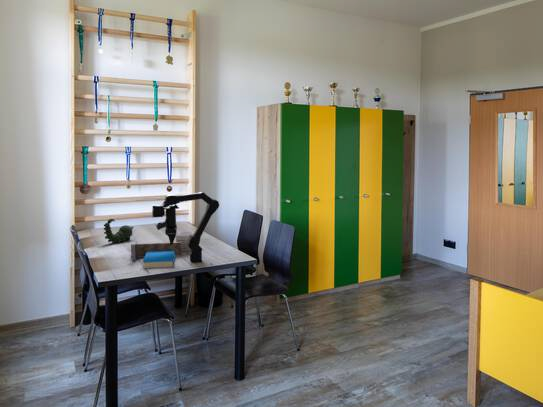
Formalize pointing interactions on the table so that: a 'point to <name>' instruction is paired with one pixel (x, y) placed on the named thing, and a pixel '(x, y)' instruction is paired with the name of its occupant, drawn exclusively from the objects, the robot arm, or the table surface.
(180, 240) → the can
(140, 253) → the shelf wall
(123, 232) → the toy figurine
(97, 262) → the table surface
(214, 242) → the table surface
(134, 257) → the bookend
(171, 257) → the book
